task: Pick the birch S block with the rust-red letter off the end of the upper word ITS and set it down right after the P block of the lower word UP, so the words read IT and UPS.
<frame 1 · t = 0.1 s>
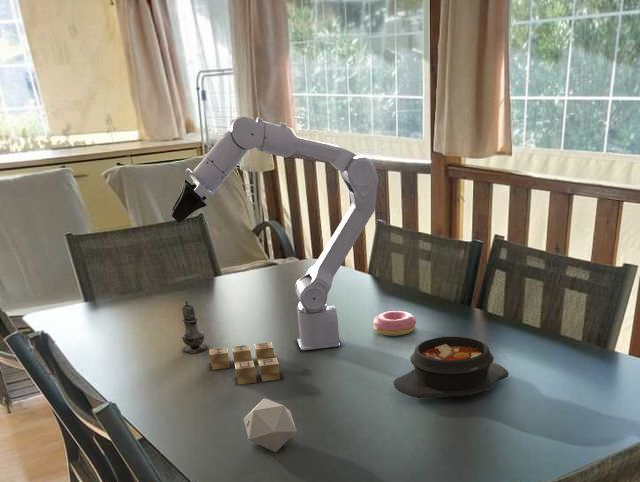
hand: (175, 216, 148), 32 cm above the table, tool tilted 50°, fingers open, 7 cm apart
doughnut: (394, 331, 176), on the table
tile P: (270, 377, 153), on the table
tile S: (265, 360, 162), on the table
tile U: (246, 380, 152), on the table
casserole: (451, 387, 144), on the table
tile T: (243, 363, 161), on the table
die: (272, 446, 125), on the table
tile I: (220, 365, 160), on the table
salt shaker: (195, 349, 171), on the table
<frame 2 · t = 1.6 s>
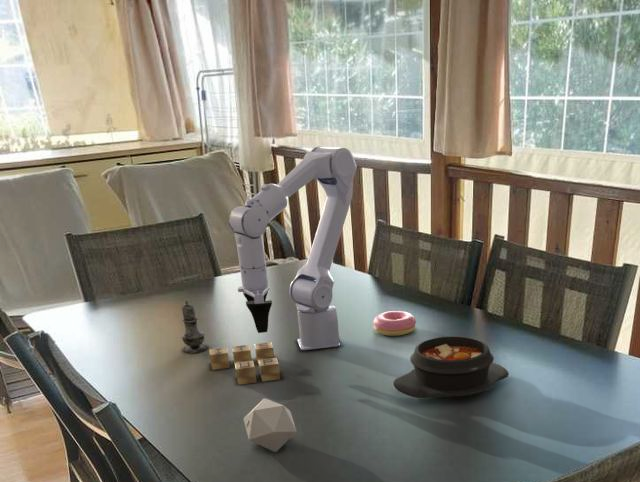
hand: (261, 327, 158), 8 cm above the table, tool pointing down, fingers open, 7 cm apart
nothing on the table moved.
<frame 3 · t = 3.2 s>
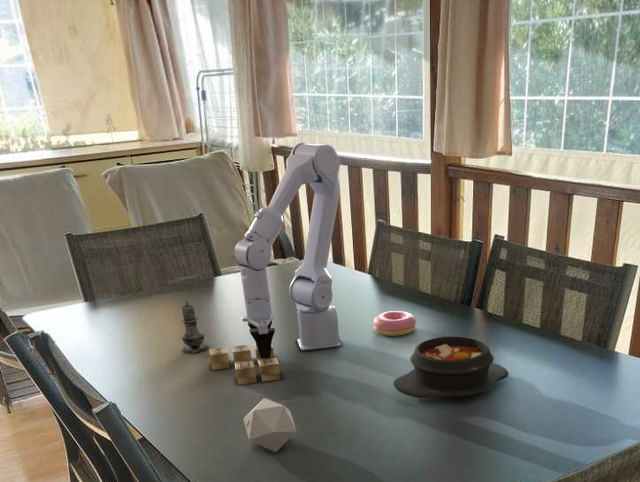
hand: (264, 354, 161), 1 cm above the table, tool pointing down, fingers closed on tile S, 4 cm apart
tile S: (265, 360, 162), on the table, touching gripper
everything else where it was.
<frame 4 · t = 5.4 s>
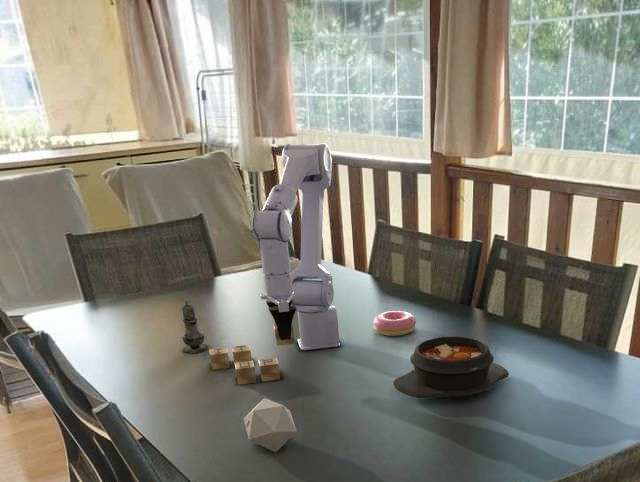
hand: (284, 335, 151), 8 cm above the table, tool pointing down, fingers closed on tile S, 4 cm apart
tile S: (284, 341, 151), point 7 cm above the table, touching gripper
everything else where it was.
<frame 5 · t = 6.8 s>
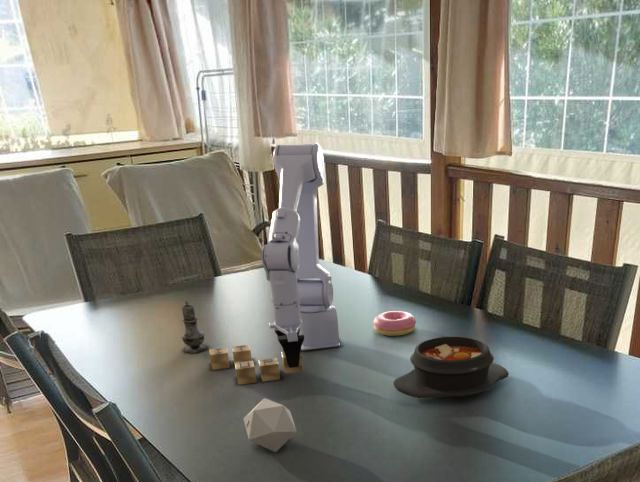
hand: (292, 363, 152), 3 cm above the table, tool pointing down, fingers closed on tile S, 4 cm apart
tile S: (292, 369, 153), point 1 cm above the table, touching gripper
everything else where it was.
when the fingers open (1 cm above the table, at t = 7.7 s): tile S stays where it is, on the table.
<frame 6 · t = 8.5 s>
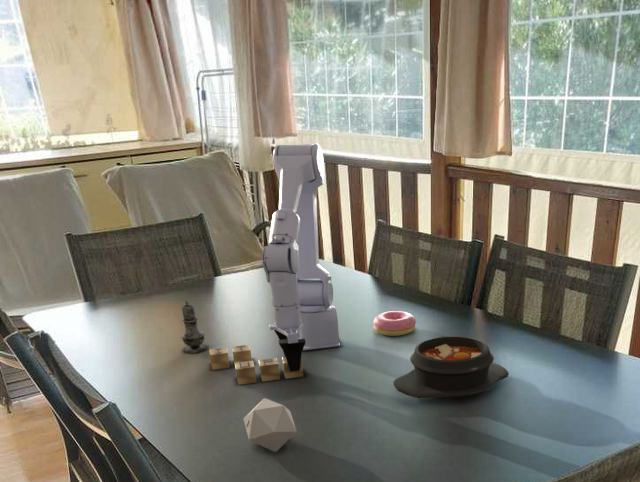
hand: (292, 364, 152), 2 cm above the table, tool pointing down, fingers open, 7 cm apart
tile S: (293, 374, 154), on the table
everything else where it was.
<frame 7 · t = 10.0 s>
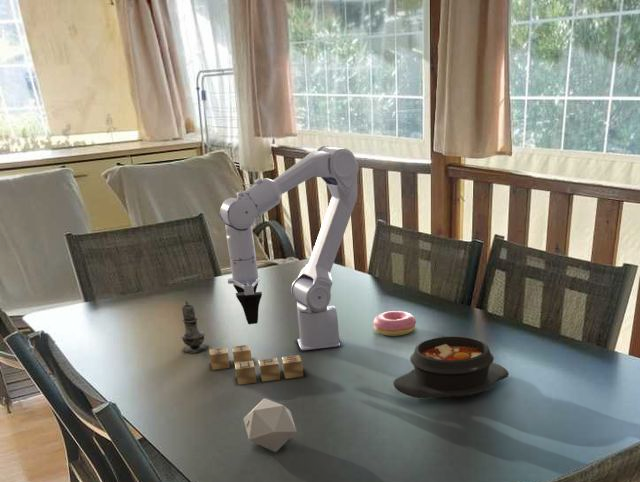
hand: (251, 318, 159), 9 cm above the table, tool pointing down, fingers open, 7 cm apart
nothing on the table moved.
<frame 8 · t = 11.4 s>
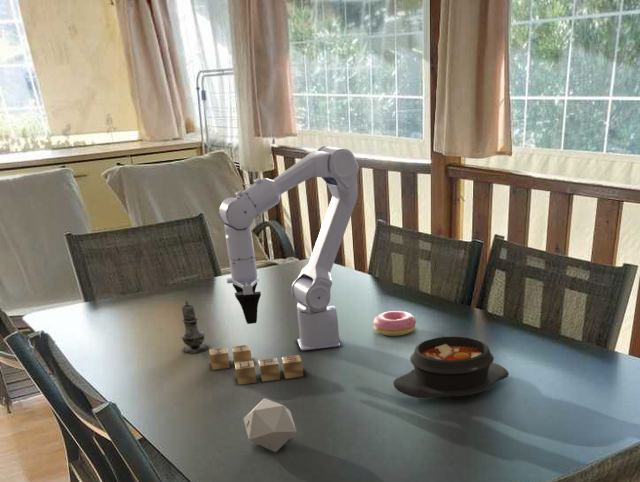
hand: (250, 318, 159), 9 cm above the table, tool pointing down, fingers open, 7 cm apart
nothing on the table moved.
at the end: tile S 0.4 cm from the target spot on the table beside the tile P, on the table; tile S tilted 0°; tile P moved 0.0 cm from its start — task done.
